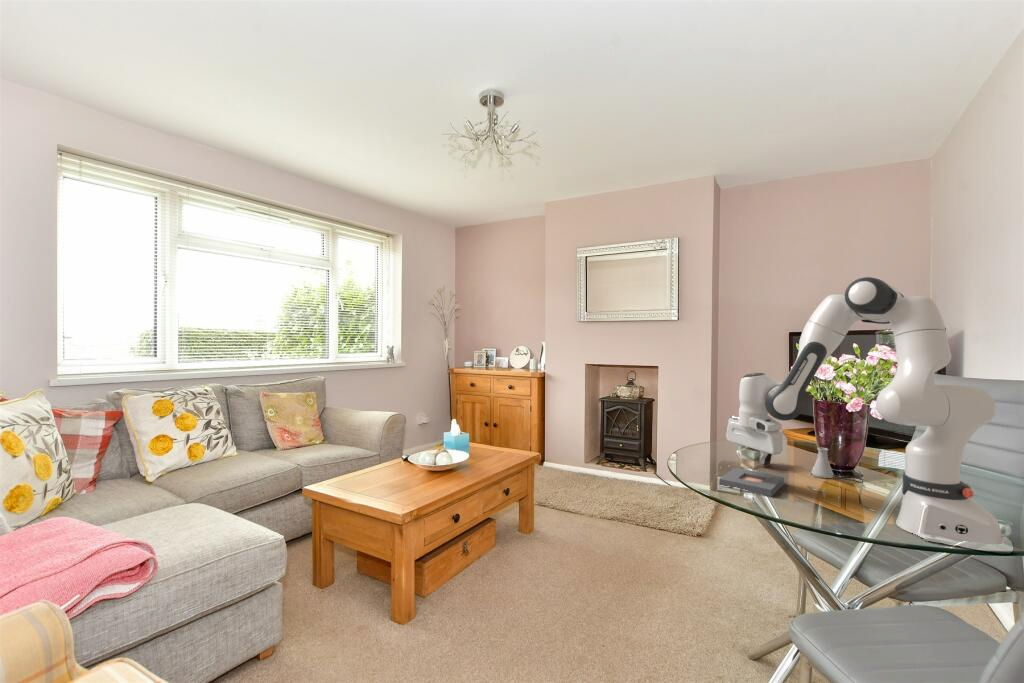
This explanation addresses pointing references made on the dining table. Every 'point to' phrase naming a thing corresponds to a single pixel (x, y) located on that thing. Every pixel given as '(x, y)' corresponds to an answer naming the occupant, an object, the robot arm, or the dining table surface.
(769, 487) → the pocket plate
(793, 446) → the dining table surface
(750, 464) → the faceted block
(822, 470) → the flask
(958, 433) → the robot arm
